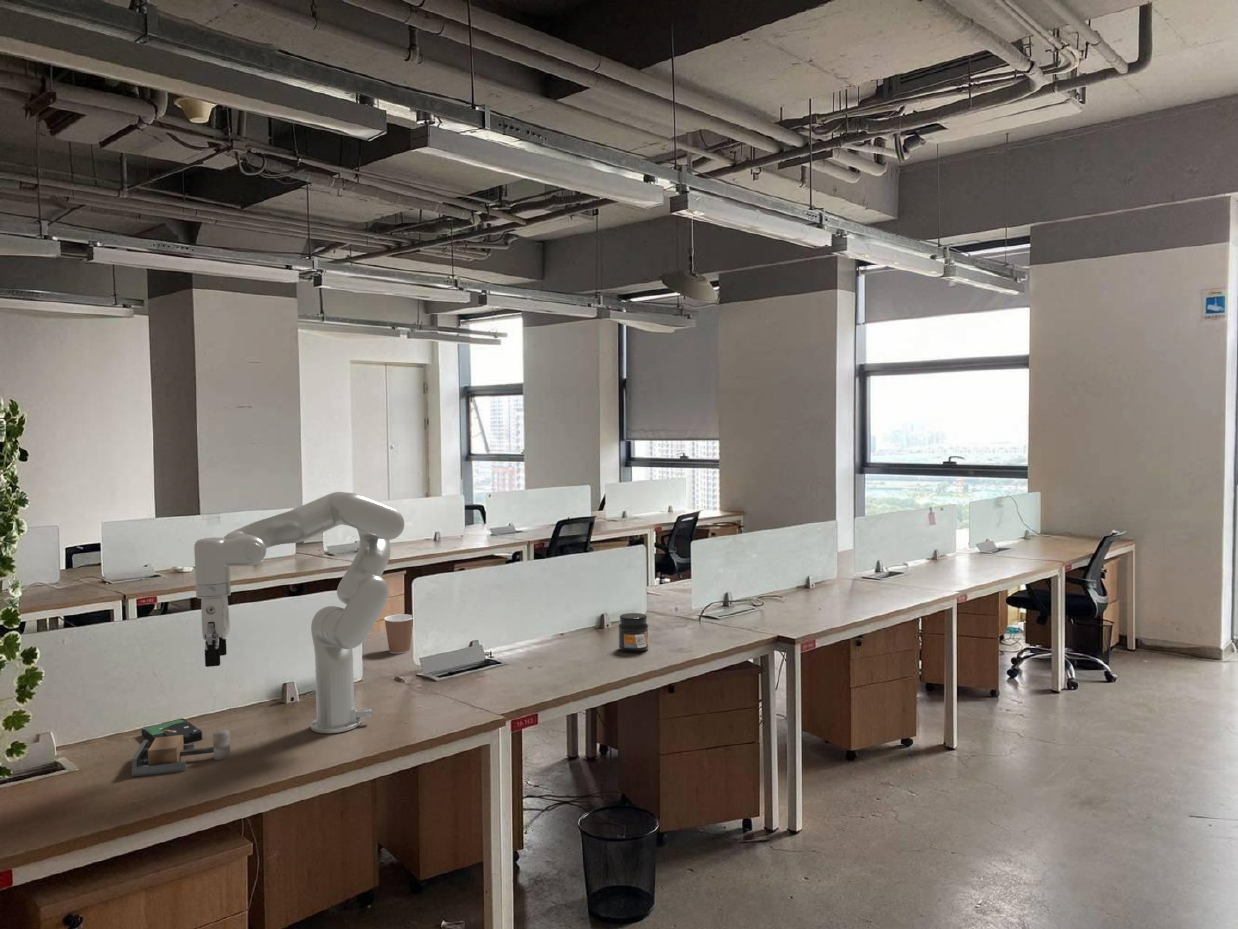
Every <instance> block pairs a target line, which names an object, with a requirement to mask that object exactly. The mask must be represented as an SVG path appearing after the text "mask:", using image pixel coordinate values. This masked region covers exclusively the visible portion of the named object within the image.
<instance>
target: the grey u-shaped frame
mask: <svg viewBox="0 0 1238 929" xmlns="http://www.w3.org/2000/svg"><path fill="white" fill-rule="evenodd" d="M149 743H150V742H149V741H148V740H147V739H143V741H142V742H141V744H140V746H138V749H137V750H136V752H135V753H134V755H133V756H132V758H131V776H132V778H133V777H141V776H142V777H143V776H152V775H153V776H154V775H158V774H167V773H170V774H171V773H178V772H185V771H187V760H181V761H178V762H169V763H161V764H152V765H148V764H146V765H145V763H146V762H147V761H148V750H149V748H150V747H149V746H150V744H149ZM190 749H195V742H191V743H187V744H184V750H190Z"/></svg>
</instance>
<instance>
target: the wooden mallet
mask: <svg viewBox="0 0 1238 929" xmlns="http://www.w3.org/2000/svg"><path fill="white" fill-rule="evenodd" d="M230 738H231V737H230V730H228V729H219V730H216V731H214V732H212V744H213V745H212V746H211V747H210V746H209V747H200V748H199V747H198V748H194V749H190V750H184V742H183V735H177V736H168V737H159V738H155V740H154V741H153V743H151V745H149V746H150V747H149V750H148V759H147V762H148V763H147V765H152V764H161V763H169V762H178V761H183V758H184V757H187V756H193V755H194V756H195V755H196V756H197V755H203V754H212V753H213V760H216V761H217V760H218V761H219V760H225V759H229V758H230V757H231V741H230V740H231V739H230Z"/></svg>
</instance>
